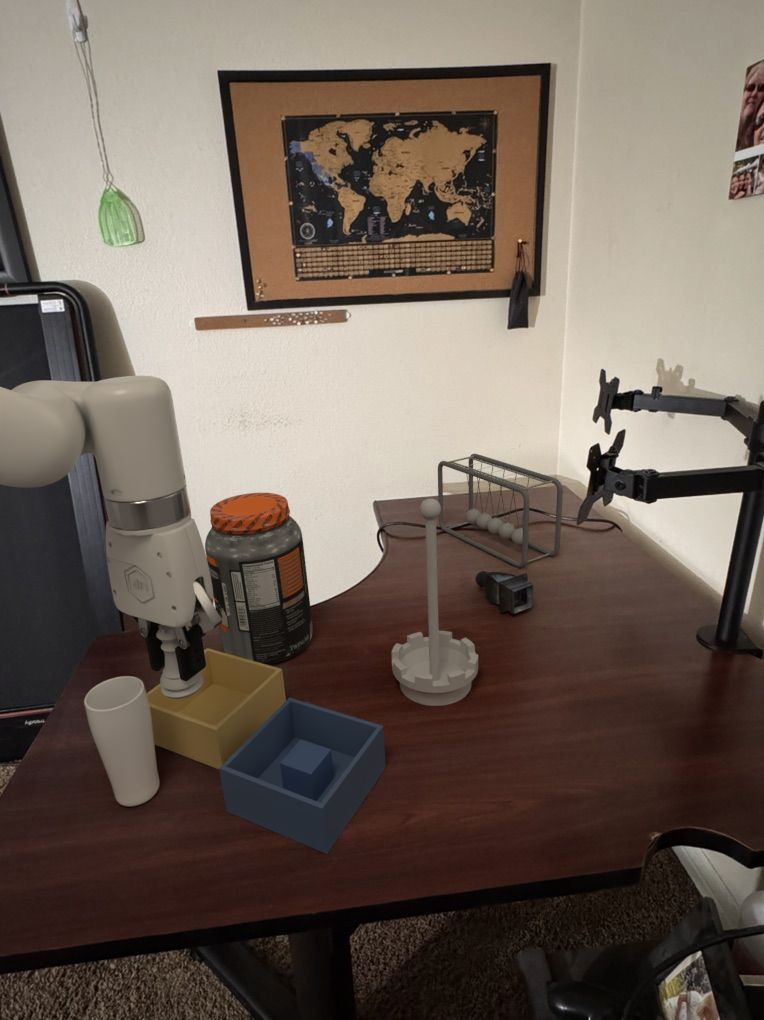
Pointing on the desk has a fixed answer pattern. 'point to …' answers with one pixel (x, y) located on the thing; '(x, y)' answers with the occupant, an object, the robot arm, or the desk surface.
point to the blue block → (307, 769)
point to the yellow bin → (218, 709)
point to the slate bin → (312, 823)
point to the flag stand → (434, 642)
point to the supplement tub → (259, 578)
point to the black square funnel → (507, 590)
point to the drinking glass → (124, 737)
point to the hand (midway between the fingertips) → (179, 667)
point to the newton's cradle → (496, 524)
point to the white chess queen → (175, 668)
